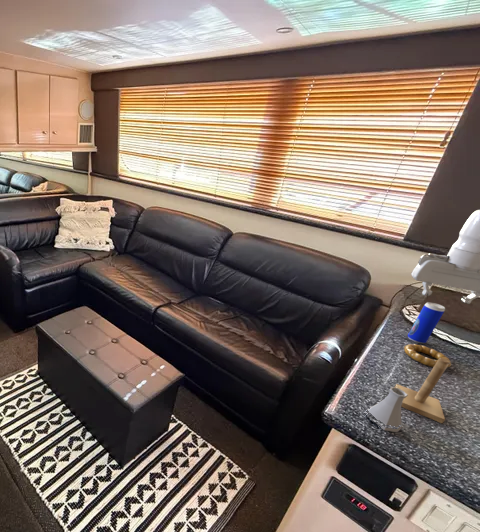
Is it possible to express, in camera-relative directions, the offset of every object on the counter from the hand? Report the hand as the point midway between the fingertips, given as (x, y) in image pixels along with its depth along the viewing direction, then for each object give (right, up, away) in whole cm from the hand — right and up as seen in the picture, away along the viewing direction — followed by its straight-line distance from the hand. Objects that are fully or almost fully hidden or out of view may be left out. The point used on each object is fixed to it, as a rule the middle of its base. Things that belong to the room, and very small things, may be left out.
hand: (444, 298), depth 103 cm
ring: (0, -20, +6) cm, 21 cm away
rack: (-24, -28, -14) cm, 40 cm away
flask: (-40, -30, -20) cm, 54 cm away
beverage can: (+9, -17, +17) cm, 26 cm away
